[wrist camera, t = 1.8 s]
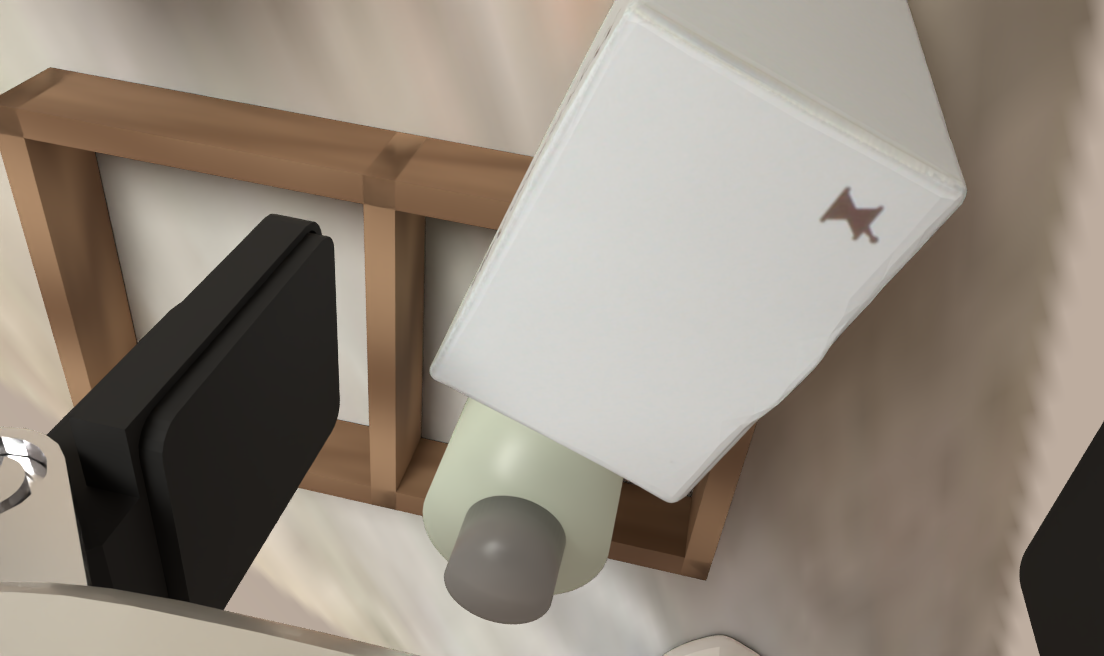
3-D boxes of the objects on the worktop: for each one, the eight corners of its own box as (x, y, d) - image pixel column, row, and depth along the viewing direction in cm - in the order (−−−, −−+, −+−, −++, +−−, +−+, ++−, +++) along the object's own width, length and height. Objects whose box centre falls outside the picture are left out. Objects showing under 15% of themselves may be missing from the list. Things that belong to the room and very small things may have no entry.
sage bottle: (503, 269, 26) (400, 497, 19) (658, 300, 25) (611, 544, 18) (493, 388, 28) (399, 625, 21) (633, 418, 28) (584, 670, 21)
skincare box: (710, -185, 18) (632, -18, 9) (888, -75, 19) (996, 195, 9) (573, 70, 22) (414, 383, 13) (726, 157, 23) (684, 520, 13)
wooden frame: (50, 67, 25) (-14, 102, 23) (806, 207, 23) (809, 259, 21) (126, 390, 32) (83, 438, 30) (710, 519, 30) (706, 580, 28)
